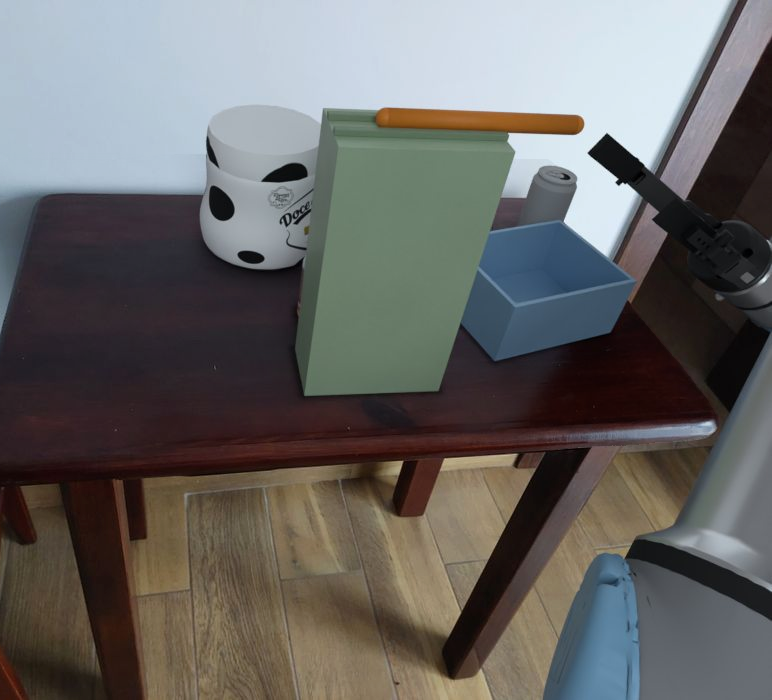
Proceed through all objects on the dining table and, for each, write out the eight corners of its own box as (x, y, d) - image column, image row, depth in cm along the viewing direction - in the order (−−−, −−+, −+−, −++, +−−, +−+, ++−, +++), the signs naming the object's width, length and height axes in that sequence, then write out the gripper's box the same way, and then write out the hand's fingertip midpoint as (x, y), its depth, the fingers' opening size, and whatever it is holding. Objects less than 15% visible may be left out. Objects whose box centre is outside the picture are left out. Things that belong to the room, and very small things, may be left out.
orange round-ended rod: (575, 130, 64) (582, 111, 63) (583, 138, 63) (590, 120, 62) (371, 123, 61) (375, 103, 60) (376, 131, 60) (379, 112, 58)
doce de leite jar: (328, 282, 93) (346, 161, 81) (201, 282, 90) (200, 157, 78) (310, 216, 106) (323, 103, 94) (198, 215, 103) (197, 98, 91)
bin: (610, 332, 91) (637, 281, 85) (494, 361, 84) (515, 307, 79) (540, 269, 101) (560, 219, 95) (431, 290, 94) (446, 238, 89)
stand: (420, 346, 85) (487, 107, 65) (438, 391, 79) (518, 145, 59) (294, 349, 82) (323, 101, 62) (304, 396, 76) (339, 139, 56)
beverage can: (550, 259, 104) (579, 188, 96) (509, 247, 105) (533, 177, 97) (554, 239, 108) (582, 170, 100) (514, 228, 109) (538, 159, 101)
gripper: (777, 359, 70) (664, 275, 60) (653, 229, 88) (550, 148, 78) (847, 309, 66) (739, 211, 56) (702, 184, 84) (601, 94, 74)
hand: (629, 174), depth 67 cm, fingers open, 13 cm apart
